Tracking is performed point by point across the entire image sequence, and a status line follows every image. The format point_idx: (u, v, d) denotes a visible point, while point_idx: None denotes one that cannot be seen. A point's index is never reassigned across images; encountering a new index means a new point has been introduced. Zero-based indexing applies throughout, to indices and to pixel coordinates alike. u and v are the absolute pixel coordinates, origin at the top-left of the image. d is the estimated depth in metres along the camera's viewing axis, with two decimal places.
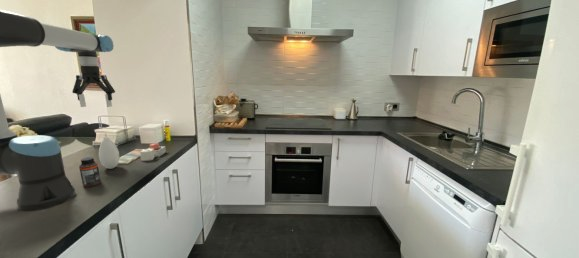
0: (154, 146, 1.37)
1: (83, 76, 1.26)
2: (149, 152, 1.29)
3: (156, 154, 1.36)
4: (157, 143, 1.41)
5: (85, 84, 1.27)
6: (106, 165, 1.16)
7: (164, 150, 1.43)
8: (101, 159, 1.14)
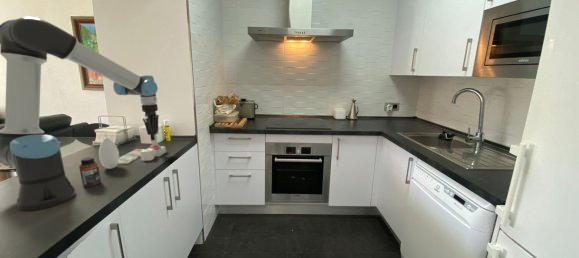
0: (154, 148, 1.37)
1: None
2: (149, 152, 1.29)
3: (156, 154, 1.36)
4: (157, 145, 1.41)
5: None
6: (106, 165, 1.16)
7: (164, 150, 1.43)
8: (101, 159, 1.14)
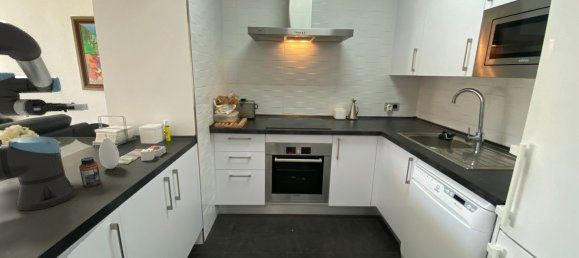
0: (154, 148, 1.37)
1: (37, 105, 1.09)
2: (149, 152, 1.29)
3: (156, 154, 1.36)
4: None
5: None
6: (106, 165, 1.16)
7: (164, 150, 1.43)
8: (101, 159, 1.14)
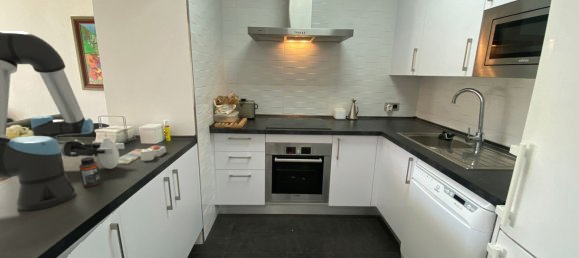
0: (154, 148, 1.37)
1: (75, 148, 1.13)
2: (149, 152, 1.29)
3: (156, 154, 1.36)
4: None
5: None
6: (106, 165, 1.16)
7: (164, 150, 1.43)
8: (101, 159, 1.14)
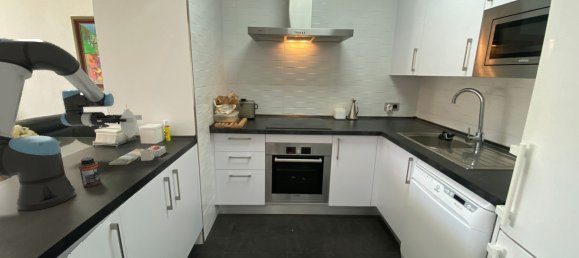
0: (154, 148, 1.37)
1: (100, 117, 1.31)
2: (149, 152, 1.29)
3: (156, 154, 1.36)
4: None
5: None
6: (127, 132, 1.33)
7: (164, 150, 1.43)
8: (123, 127, 1.32)
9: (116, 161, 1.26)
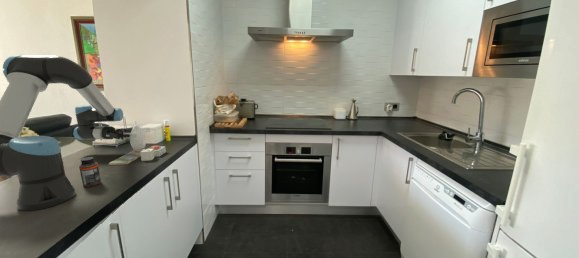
0: (154, 148, 1.37)
1: (110, 132, 1.37)
2: (149, 152, 1.29)
3: (156, 154, 1.36)
4: None
5: None
6: (136, 148, 1.40)
7: (164, 150, 1.43)
8: (132, 143, 1.38)
9: (116, 161, 1.26)
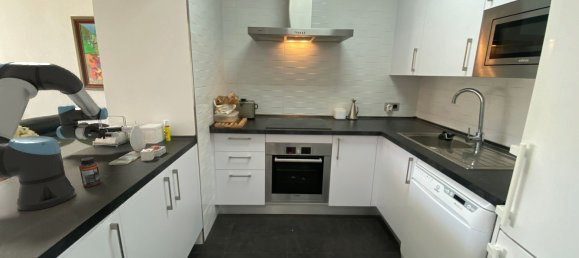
0: (154, 148, 1.37)
1: (93, 131, 1.37)
2: (149, 152, 1.29)
3: (156, 154, 1.36)
4: None
5: None
6: (136, 148, 1.40)
7: (164, 150, 1.43)
8: (132, 143, 1.38)
9: (116, 161, 1.26)
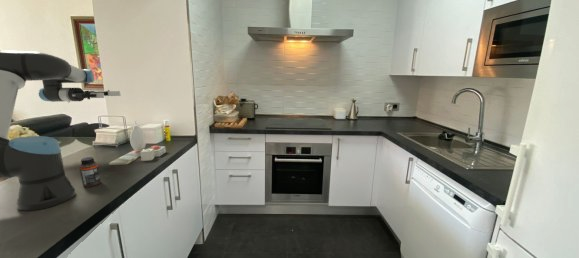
0: (154, 148, 1.37)
1: (77, 93, 1.32)
2: (149, 152, 1.29)
3: (156, 154, 1.36)
4: None
5: None
6: (136, 148, 1.40)
7: (164, 150, 1.43)
8: (132, 143, 1.38)
9: (116, 161, 1.26)
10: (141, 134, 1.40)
